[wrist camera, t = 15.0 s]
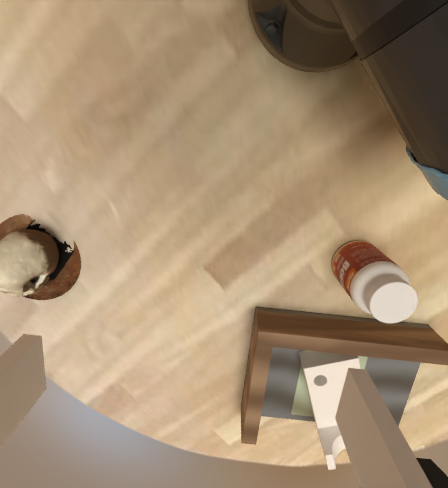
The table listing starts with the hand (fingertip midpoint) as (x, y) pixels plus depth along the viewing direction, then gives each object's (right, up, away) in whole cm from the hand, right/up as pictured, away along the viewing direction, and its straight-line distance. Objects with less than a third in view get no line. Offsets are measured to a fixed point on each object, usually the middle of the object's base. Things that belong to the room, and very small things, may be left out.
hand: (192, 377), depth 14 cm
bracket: (+17, -15, +34) cm, 40 cm away
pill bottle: (+18, +3, +29) cm, 34 cm away
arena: (+17, -13, +34) cm, 40 cm away
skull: (-24, +4, +30) cm, 39 cm away
